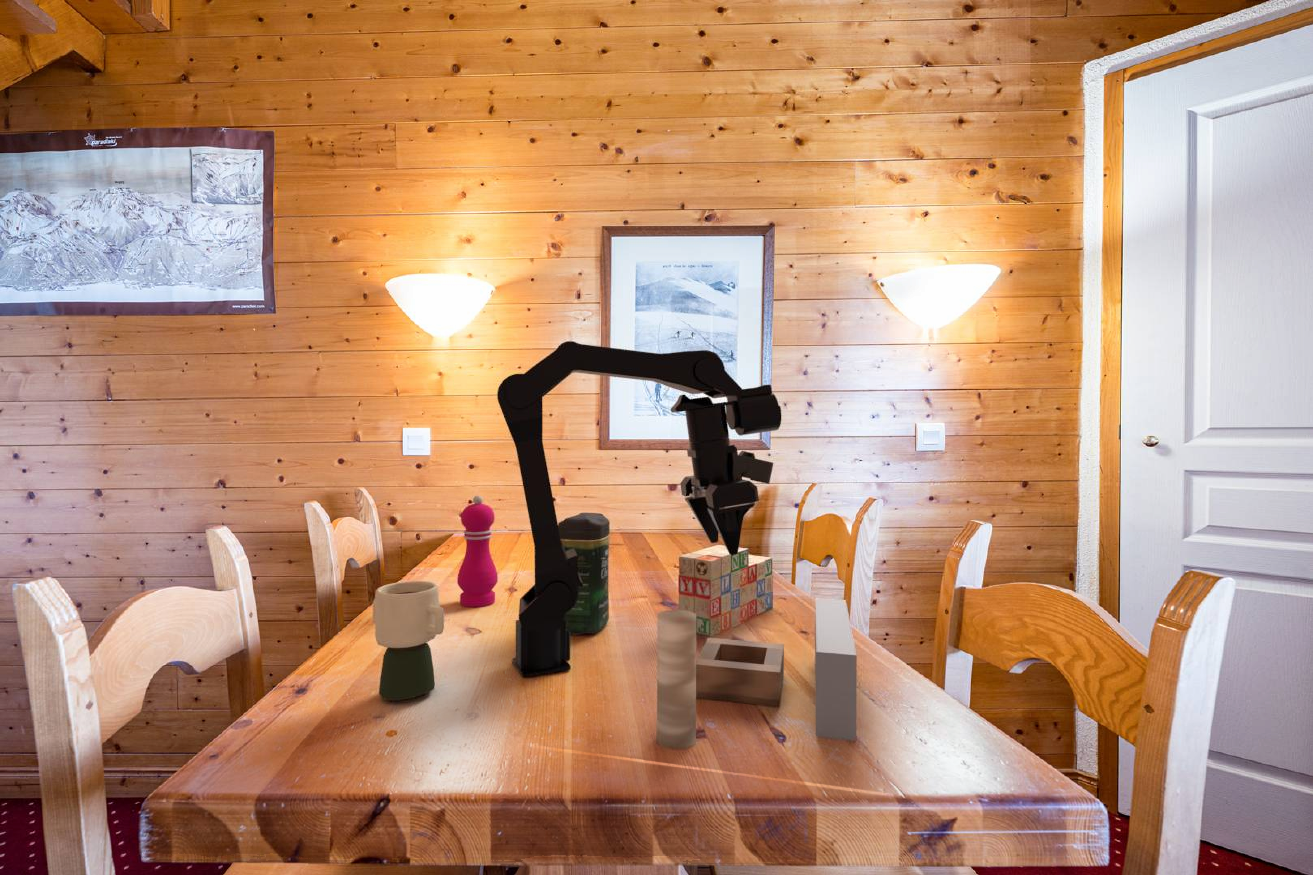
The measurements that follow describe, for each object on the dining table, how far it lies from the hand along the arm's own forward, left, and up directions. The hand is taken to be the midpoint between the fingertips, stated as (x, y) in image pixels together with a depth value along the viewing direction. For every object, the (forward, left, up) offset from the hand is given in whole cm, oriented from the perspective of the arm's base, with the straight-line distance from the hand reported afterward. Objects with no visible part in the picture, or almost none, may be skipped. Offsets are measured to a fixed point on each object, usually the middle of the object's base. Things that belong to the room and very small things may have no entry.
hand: (723, 548), depth 90 cm
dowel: (-18, -19, -15) cm, 30 cm away
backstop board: (+4, -18, -15) cm, 24 cm away
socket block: (-4, -11, -15) cm, 19 cm away
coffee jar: (-14, +21, -16) cm, 29 cm away
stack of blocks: (+10, +15, -16) cm, 24 cm away
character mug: (-42, +5, -16) cm, 45 cm away
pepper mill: (-27, +43, -16) cm, 53 cm away
